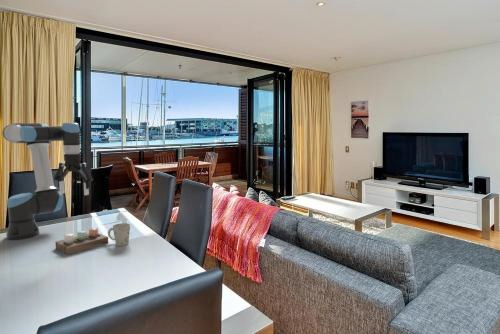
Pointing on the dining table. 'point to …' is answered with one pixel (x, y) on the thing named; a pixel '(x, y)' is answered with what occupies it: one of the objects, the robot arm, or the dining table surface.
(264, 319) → the dining table surface
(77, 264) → the dining table surface
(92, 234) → the button terracotta
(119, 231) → the mug
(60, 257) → the dining table surface
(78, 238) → the button sage
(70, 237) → the button cream
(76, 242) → the button panel
